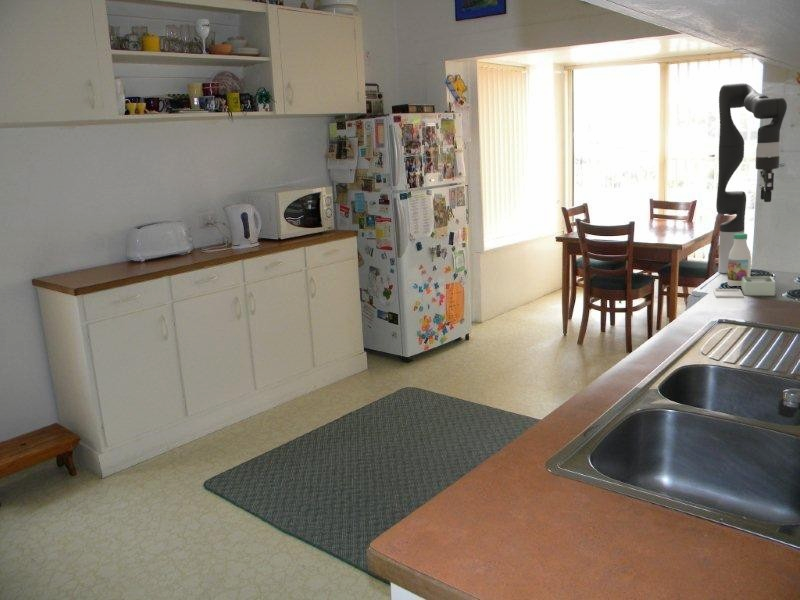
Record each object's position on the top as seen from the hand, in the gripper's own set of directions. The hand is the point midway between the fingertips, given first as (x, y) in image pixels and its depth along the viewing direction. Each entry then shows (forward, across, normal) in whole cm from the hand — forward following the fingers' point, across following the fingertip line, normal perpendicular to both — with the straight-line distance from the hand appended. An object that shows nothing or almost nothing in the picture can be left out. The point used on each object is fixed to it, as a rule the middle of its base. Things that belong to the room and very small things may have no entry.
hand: (765, 200), depth 253 cm
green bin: (+32, +12, -3) cm, 34 cm away
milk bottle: (+32, 0, -8) cm, 33 cm away
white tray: (+32, +15, -13) cm, 38 cm away
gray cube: (+32, +12, -3) cm, 34 cm away
